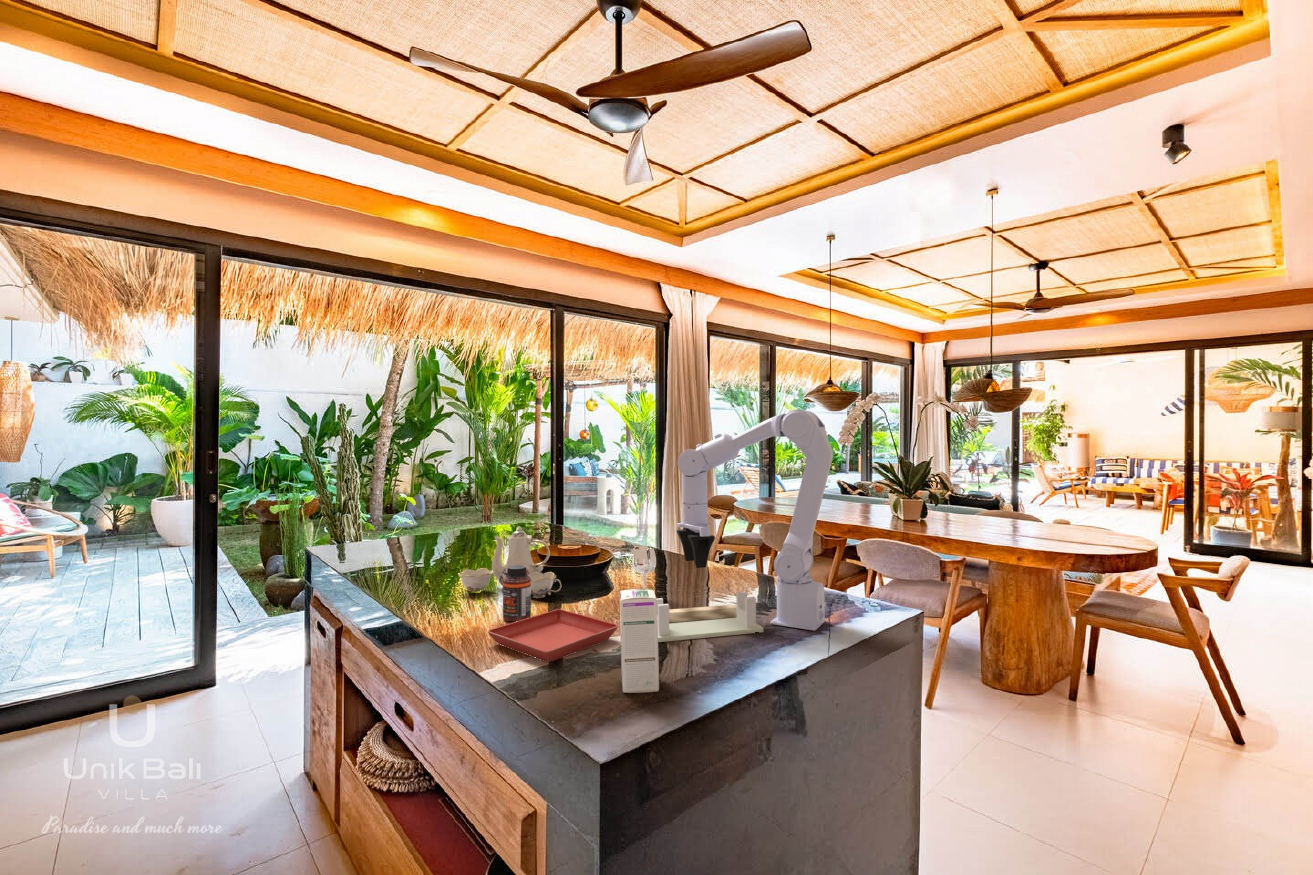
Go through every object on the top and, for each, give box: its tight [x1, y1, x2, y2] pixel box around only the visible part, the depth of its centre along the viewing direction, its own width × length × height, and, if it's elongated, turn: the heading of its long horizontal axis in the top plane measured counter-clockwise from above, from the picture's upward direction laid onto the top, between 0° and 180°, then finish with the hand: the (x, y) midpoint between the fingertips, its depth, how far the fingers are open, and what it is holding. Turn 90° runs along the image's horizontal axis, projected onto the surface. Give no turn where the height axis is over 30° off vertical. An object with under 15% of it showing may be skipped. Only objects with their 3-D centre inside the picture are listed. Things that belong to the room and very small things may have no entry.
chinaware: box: [457, 525, 562, 599], centre depth 156 cm, size 28×17×17 cm, turn 80°
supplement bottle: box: [502, 565, 532, 622], centre depth 132 cm, size 6×6×11 cm
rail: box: [669, 604, 737, 624], centre depth 131 cm, size 22×2×2 cm, turn 103°
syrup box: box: [619, 588, 660, 694], centre depth 96 cm, size 6×6×14 cm
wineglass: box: [631, 545, 657, 589], centre depth 149 cm, size 6×6×12 cm
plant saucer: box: [487, 608, 619, 663], centre depth 117 cm, size 18×18×3 cm
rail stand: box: [656, 591, 764, 643], centre depth 123 cm, size 22×8×6 cm, turn 104°
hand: (695, 563), depth 137 cm, fingers open, 7 cm apart
